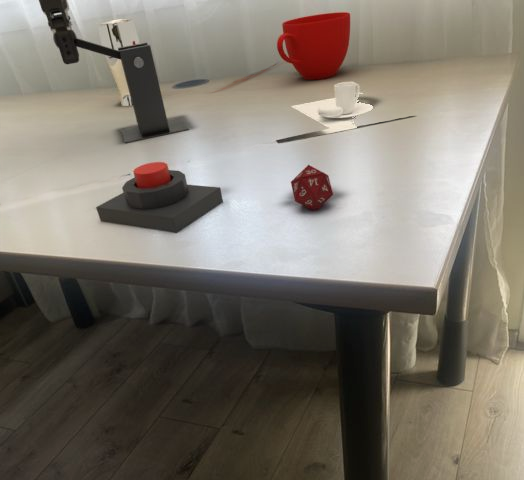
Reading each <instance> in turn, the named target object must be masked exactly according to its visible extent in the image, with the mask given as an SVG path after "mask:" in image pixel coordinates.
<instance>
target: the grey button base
mask: <svg viewBox="0 0 524 480" xmlns="http://www.w3.org/2000/svg"><path fill="white" fill-rule="evenodd" d="M169 173H170V177H171V181H170V182H168V183H166V184H164V185H161V186H157V187H152V188H138V187H137V184H136V180H135V176H134V177H133V178H131V179H129V180H127V181H125V182H124V184H123V186H122V187H121V189H122V193H120V194H118V195H116V196H114V197H112V198H111V199H109V200H106V201H105V202H103V203H102V204H99V205H98V206H96V207H95V208H96V211H97V215H98V219H99V221H100V222H101V223H108V224H114V225H121V226H127V227H134V228H140V229H141V228H142V229H147V230H155V231H162V232H168V233H174V234H177V233H179V232H181V231H183V230H184V229H185V228H187V227H188V226H190V225H191V224H193V223H195V222H196V221H198V220H199V219H200V218H202V217H203V216H205V215H206V214H208V213H210V212H211V211H212V210H214V209H215V208H217V207H218V206H220V205H221V204H223V203H224V200H223V195H222V189H221V187H220V186H208V185H197V184H188V181H187V178H186V174H185V173H183V172H182V171H180V170H175V169H174V170H173V169H169Z"/></svg>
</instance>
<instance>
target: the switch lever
mask: <svg viewBox="0 0 524 480" xmlns="http://www.w3.org/2000/svg"><path fill="white" fill-rule="evenodd" d="M68 32H71V33H72V37H73V40H74V43H75V47H77V48H80V49H83V50H87V51H90V52H93V53H97V54H100V55H104V56H105V55H107V56H110V57H114V58H117V59H120V60H122V59H121V55H120V51H118V50H115V49H111V48H108V47H105V46H102V44H97V43H94V42H91V41H88V40H85V39H81V38H79V37H77V34H76V32H75V31H74V29H73V28H71V31H68ZM56 34H57V33H56ZM52 37H53V38H52V39H53V43H54V45H55V46H56V47H57V48H58V49H59V47H58V44H57V41H56V38H55V34H53V35H52ZM128 49H129V48H128Z"/></svg>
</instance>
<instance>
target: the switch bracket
mask: <svg viewBox="0 0 524 480" xmlns="http://www.w3.org/2000/svg"><path fill="white" fill-rule="evenodd" d="M128 48H129V49H128ZM118 51H120V55H121V59H122V60H121V62H122V66H123V70H124V74H125V78H126V81H127V85H128V89H129V93H130V97H131V101H132V104H133V105H132V108H133V112H134V116H135V120H136V123H137V126H132V127H128V128H127V127H126V128H123V129H121V130H120V131H121V134H122V138H123V142H124V144H125V145H126V144H130V143H136V142H140V141H145V140H149V139H150V140H151V139H155V138H158V137H159V138H160V137H163V136H169V135H172V134H177V133H183V132H186V131H190V128H189V127H188V126H187V124H186V123H185V122H184V120H183V119H182V117H181V116H179V117H175V118H171V119H170V118H169V119H168V117H167V114H166V109H165V104H164V100H163V95H162V91H161V86H160V84H159V83H160V82H159V79H158V73H157V69H156V64H155V61H154V57H153V53H152V51H153V50H152V48H151V45H150V44H148V42H141V43H140V44H136V45H130V46H125V47H120V48H118Z"/></svg>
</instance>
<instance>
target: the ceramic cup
mask: <svg viewBox="0 0 524 480" xmlns="http://www.w3.org/2000/svg"><path fill="white" fill-rule="evenodd" d="M281 26H282V34H280V35H279V36H278V38H277V41H276V50H277V52H278V54H279V56H280V58H281V59H282V60H283V61H284V62H285V63H288V64H291V65H292V66H293V68H294V69H295V70H296V72H297V73H298V74H299V75H300V76H301V77H302V79H304V80H307V81H308V80H309V81H310V80H311V81H312V80H313V81H314V80H322V79H327V78H331V77H333V76H335V75H337V72H338V71H339V70H340V68H341V67H342V65H343V63H344V61H345V59H346V56H347V54H348V50H349V45H350V36H351V13H350V12H348V11H347V12H346V11H345V12H344V11H339V12H327V13H319V14H313V15H307V16H301V17H296V18H293V19H289V20H286V21H283V22H282V24H281ZM284 45H285V49H286V52H285V50H284ZM286 53H287V54H286Z"/></svg>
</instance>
